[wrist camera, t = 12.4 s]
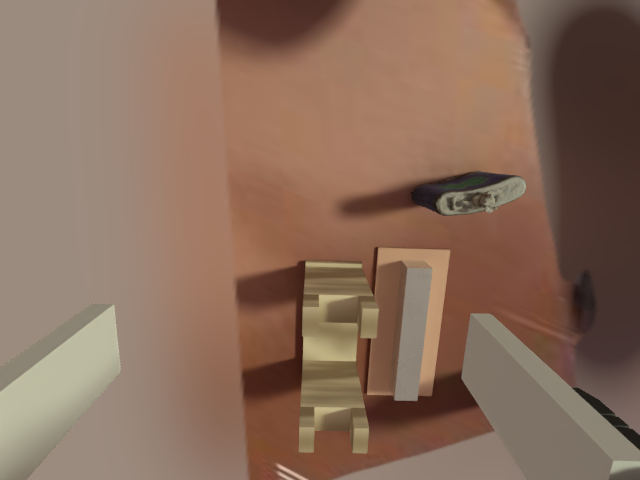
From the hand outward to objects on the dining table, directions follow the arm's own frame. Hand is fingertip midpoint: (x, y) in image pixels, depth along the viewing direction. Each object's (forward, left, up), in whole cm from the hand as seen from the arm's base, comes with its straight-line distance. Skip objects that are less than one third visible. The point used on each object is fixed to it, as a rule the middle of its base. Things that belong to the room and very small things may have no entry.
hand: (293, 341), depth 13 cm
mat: (+15, +13, -32) cm, 38 cm away
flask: (-3, +17, -32) cm, 36 cm away
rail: (+15, +13, -31) cm, 37 cm away
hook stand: (+15, +3, -32) cm, 35 cm away
